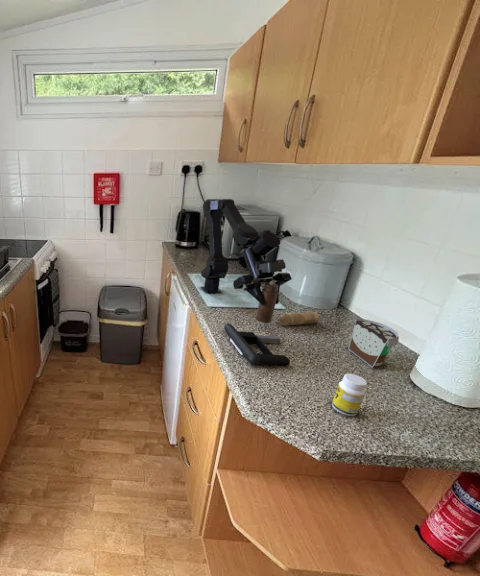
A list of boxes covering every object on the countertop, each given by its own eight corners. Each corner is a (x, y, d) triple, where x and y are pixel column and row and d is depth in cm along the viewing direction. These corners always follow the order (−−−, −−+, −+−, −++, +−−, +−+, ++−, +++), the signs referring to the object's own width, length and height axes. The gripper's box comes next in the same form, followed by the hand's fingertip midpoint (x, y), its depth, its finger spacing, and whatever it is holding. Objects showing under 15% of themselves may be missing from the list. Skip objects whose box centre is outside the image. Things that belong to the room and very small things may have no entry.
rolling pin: (282, 328, 107) (285, 317, 106) (274, 322, 111) (277, 312, 109) (320, 324, 110) (323, 314, 108) (311, 319, 113) (314, 309, 112)
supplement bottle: (334, 398, 75) (345, 369, 72) (358, 409, 72) (371, 379, 69) (329, 408, 72) (340, 378, 69) (354, 420, 69) (367, 389, 66)
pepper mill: (252, 318, 108) (261, 279, 103) (261, 315, 110) (270, 277, 105) (264, 324, 104) (274, 284, 99) (274, 321, 106) (284, 282, 101)
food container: (399, 371, 85) (414, 340, 82) (376, 371, 85) (390, 339, 82) (364, 346, 97) (376, 318, 93) (344, 346, 97) (355, 317, 93)
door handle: (268, 325, 104) (221, 322, 103) (306, 361, 85) (249, 357, 85) (265, 333, 105) (218, 331, 104) (302, 371, 87) (245, 367, 86)
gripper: (245, 252, 100) (261, 297, 94) (294, 249, 104) (313, 293, 98) (226, 267, 110) (240, 309, 104) (272, 264, 114) (287, 305, 108)
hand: (270, 304), depth 103 cm, fingers closed on pepper mill, 5 cm apart
